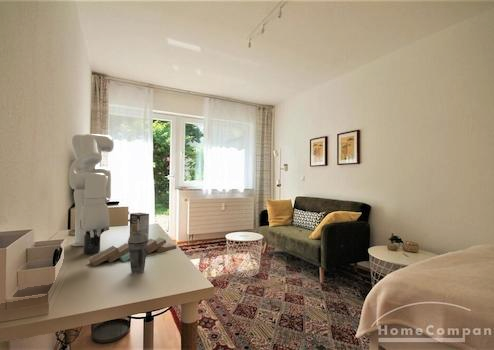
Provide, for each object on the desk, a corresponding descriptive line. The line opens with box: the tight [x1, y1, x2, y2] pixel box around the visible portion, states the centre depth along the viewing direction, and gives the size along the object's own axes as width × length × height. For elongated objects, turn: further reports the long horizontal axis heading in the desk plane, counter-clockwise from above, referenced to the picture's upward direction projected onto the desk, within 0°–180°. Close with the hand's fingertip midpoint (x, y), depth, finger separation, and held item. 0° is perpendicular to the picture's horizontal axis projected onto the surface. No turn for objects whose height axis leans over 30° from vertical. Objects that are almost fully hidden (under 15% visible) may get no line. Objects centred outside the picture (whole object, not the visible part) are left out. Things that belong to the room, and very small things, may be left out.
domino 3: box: [146, 237, 157, 251], centre depth 114 cm, size 6×2×10 cm
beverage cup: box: [127, 219, 148, 275], centre depth 92 cm, size 7×7×20 cm
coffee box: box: [129, 212, 150, 240], centre depth 135 cm, size 9×6×16 cm
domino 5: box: [153, 242, 177, 253], centre depth 122 cm, size 6×2×10 cm
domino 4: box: [146, 236, 167, 255], centre depth 118 cm, size 6×2×10 cm
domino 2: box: [106, 242, 129, 264], centre depth 106 cm, size 6×2×10 cm
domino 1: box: [88, 245, 119, 267], centre depth 102 cm, size 6×2×10 cm
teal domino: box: [118, 252, 130, 263], centre depth 108 cm, size 6×2×10 cm
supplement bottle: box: [82, 230, 102, 256], centre depth 115 cm, size 7×7×12 cm
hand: (94, 246), depth 99 cm, fingers closed
